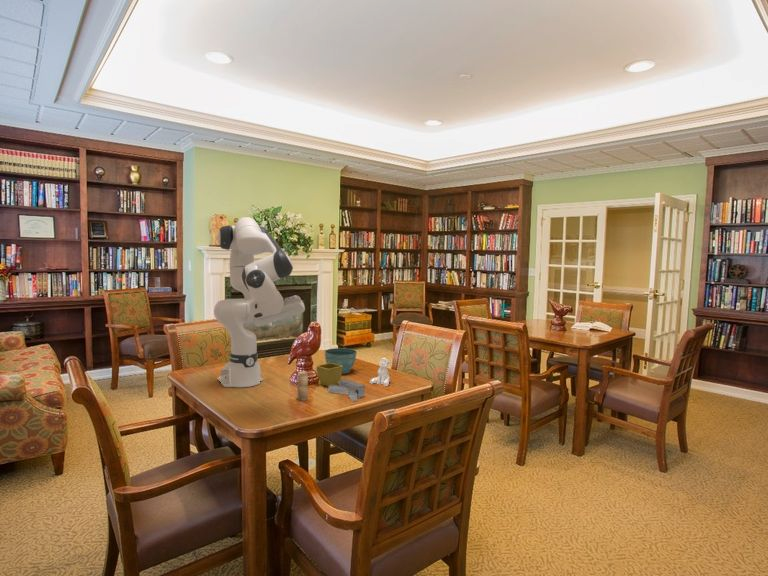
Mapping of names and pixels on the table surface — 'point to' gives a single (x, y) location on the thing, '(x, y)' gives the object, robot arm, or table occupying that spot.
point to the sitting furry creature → (382, 373)
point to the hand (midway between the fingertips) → (285, 322)
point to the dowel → (302, 386)
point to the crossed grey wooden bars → (348, 389)
